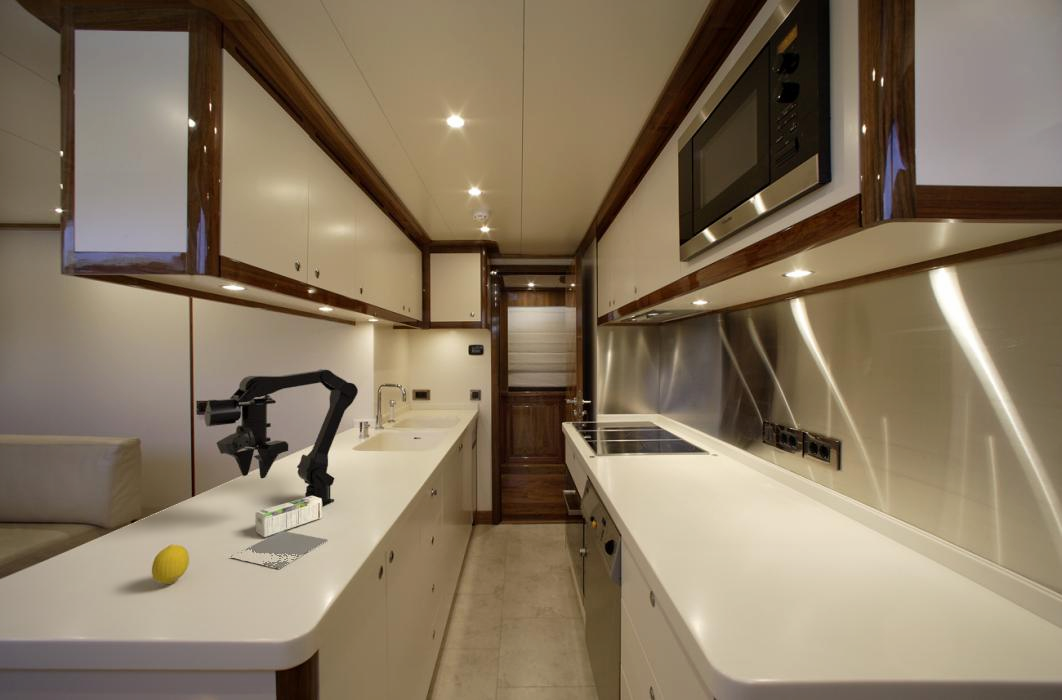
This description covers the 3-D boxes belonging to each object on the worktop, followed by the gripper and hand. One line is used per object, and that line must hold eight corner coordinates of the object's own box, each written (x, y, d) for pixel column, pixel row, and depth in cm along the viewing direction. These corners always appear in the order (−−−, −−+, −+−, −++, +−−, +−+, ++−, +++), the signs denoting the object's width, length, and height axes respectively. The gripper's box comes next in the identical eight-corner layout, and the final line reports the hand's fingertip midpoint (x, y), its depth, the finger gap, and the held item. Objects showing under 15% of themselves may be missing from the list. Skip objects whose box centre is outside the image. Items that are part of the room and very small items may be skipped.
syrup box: (255, 511, 98) (313, 493, 110) (255, 533, 98) (313, 514, 110) (263, 515, 95) (322, 497, 107) (264, 538, 95) (323, 517, 107)
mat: (282, 532, 99) (282, 530, 99) (327, 541, 94) (327, 539, 94) (230, 558, 86) (230, 556, 86) (279, 569, 82) (279, 567, 82)
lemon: (146, 595, 73) (146, 554, 73) (158, 580, 78) (158, 541, 78) (183, 587, 75) (183, 548, 76) (192, 573, 80) (193, 536, 80)
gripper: (198, 424, 99) (197, 483, 99) (249, 428, 93) (249, 491, 93) (241, 417, 110) (240, 470, 109) (290, 420, 104) (289, 476, 104)
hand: (253, 476), depth 104 cm, fingers open, 6 cm apart
